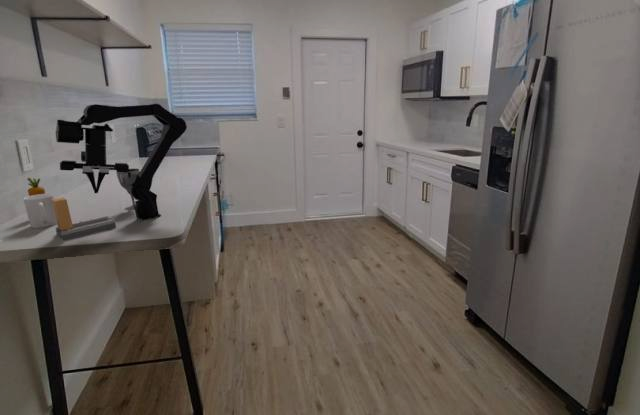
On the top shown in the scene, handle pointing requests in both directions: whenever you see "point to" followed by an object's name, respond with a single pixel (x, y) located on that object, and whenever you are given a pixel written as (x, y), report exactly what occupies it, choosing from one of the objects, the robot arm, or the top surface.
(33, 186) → the carrot
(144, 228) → the top surface
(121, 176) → the wine glass
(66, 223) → the fader tab
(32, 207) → the cup
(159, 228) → the top surface
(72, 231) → the rail
